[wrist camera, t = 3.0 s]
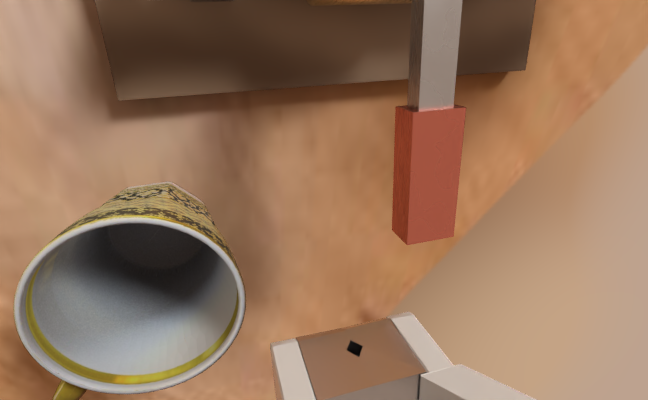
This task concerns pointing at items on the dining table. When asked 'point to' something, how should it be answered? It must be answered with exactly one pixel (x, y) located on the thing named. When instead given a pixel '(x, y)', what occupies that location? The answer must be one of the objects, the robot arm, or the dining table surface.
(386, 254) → the dining table surface
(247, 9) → the walnut board
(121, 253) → the ceramic cup
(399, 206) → the valve lever
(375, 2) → the pipe valve
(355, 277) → the dining table surface
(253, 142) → the dining table surface
